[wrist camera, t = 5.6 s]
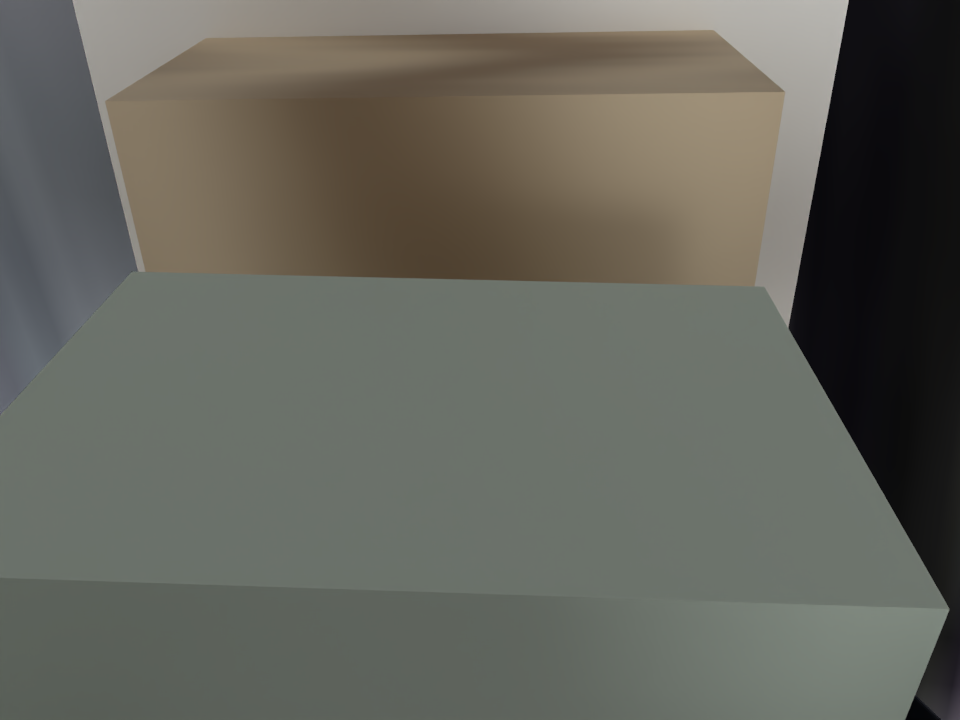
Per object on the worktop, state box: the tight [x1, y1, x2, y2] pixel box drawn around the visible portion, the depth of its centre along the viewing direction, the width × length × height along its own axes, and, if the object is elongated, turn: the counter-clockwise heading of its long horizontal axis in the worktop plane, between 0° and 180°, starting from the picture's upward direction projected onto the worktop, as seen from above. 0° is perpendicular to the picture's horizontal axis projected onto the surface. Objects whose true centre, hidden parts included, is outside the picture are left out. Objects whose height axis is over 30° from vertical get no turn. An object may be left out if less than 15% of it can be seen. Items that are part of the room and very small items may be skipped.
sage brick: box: [0, 272, 949, 720], centre depth 8 cm, size 6×6×4 cm
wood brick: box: [105, 30, 785, 286], centre depth 14 cm, size 8×8×4 cm
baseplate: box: [72, 0, 849, 327], centre depth 16 cm, size 12×14×2 cm
